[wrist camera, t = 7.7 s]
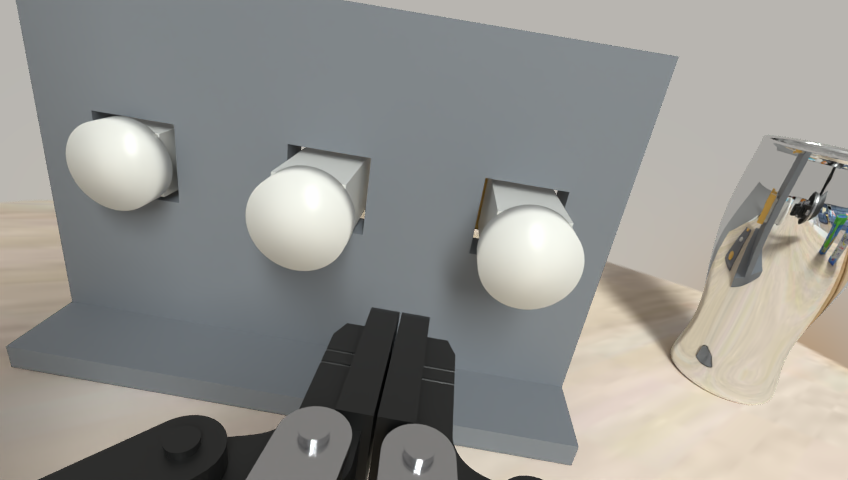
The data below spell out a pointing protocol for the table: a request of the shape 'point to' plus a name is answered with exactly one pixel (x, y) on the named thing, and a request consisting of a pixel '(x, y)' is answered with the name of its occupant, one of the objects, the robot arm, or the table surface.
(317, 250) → the middle button
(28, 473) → the table surface
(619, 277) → the table surface
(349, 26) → the button panel
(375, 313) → the robot arm
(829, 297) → the silver metal cup
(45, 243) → the table surface
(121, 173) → the button
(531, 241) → the button
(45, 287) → the table surface
